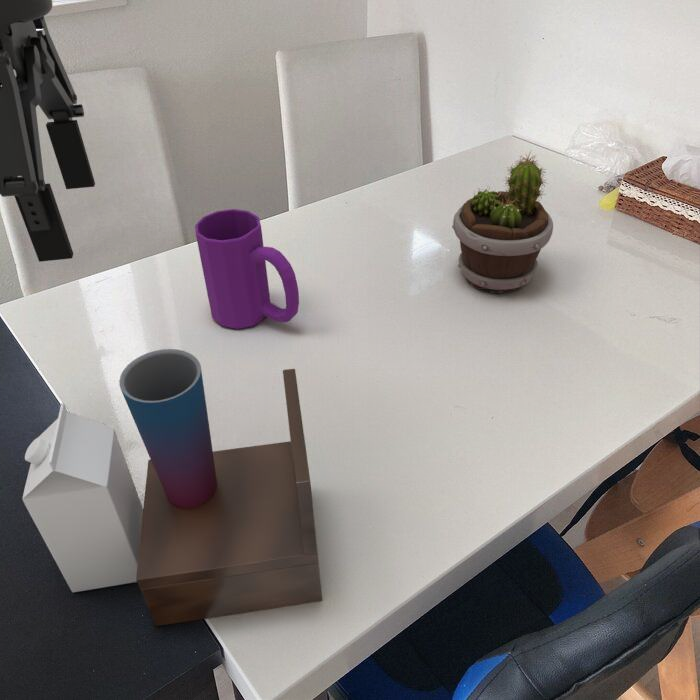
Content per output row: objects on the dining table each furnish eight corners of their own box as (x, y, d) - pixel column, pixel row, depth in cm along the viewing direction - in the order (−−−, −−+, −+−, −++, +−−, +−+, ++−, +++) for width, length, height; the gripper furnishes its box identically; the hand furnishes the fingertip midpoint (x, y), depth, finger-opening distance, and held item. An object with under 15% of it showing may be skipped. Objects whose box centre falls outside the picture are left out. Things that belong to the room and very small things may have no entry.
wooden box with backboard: (155, 626, 64) (106, 509, 53) (163, 507, 75) (124, 388, 64) (322, 600, 66) (310, 481, 54) (307, 487, 77) (294, 368, 65)
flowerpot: (483, 314, 101) (498, 190, 88) (432, 264, 111) (439, 147, 99) (563, 289, 105) (589, 167, 92) (506, 243, 116) (522, 128, 103)
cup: (141, 495, 66) (101, 382, 57) (191, 451, 71) (162, 339, 61) (191, 527, 63) (158, 414, 54) (240, 480, 68) (217, 366, 58)
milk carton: (149, 523, 73) (103, 396, 61) (145, 582, 68) (94, 455, 56) (81, 534, 73) (21, 408, 60) (72, 594, 67) (4, 468, 55)
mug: (237, 288, 108) (223, 202, 98) (318, 317, 101) (312, 228, 92) (198, 319, 102) (179, 230, 92) (282, 352, 95) (271, 260, 86)
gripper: (-5, -7, 40) (92, 290, 54) (66, -72, 59) (124, 159, 73) (-140, 2, 39) (-7, 301, 53) (-24, -67, 58) (52, 165, 72)
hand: (69, 219), depth 63 cm, fingers open, 13 cm apart
